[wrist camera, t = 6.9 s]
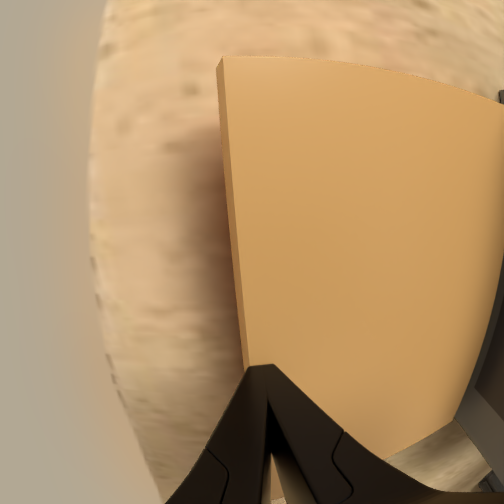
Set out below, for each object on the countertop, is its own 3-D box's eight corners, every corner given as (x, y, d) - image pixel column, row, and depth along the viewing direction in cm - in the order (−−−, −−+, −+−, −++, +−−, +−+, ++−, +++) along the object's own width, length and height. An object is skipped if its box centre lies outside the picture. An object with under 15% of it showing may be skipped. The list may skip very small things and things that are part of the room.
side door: (451, 421, 13) (264, 501, 11) (441, 411, 14) (258, 485, 11) (507, 106, 8) (222, 56, 6) (489, 106, 9) (216, 68, 7)
